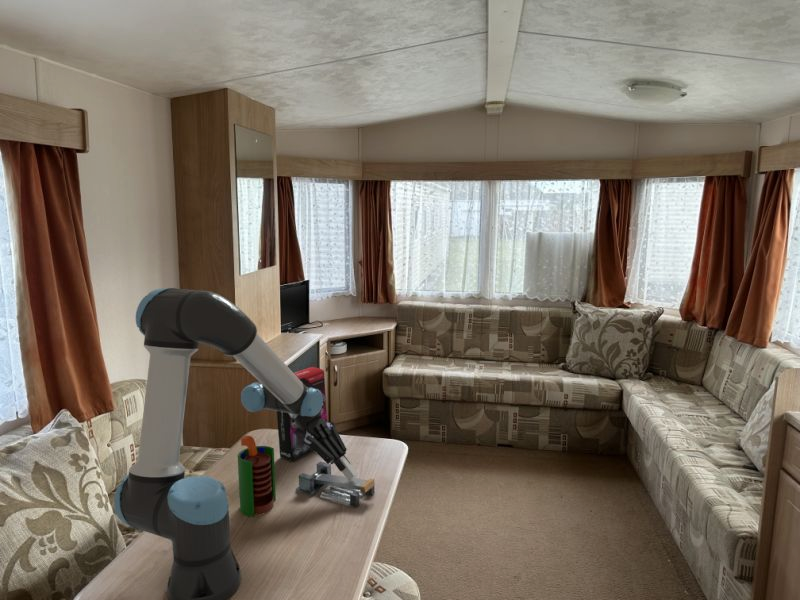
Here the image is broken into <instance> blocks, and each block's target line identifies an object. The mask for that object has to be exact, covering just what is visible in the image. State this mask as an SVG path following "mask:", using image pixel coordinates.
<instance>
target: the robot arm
mask: <svg viewBox="0 0 800 600" xmlns="http://www.w3.org/2000/svg"><path fill="white" fill-rule="evenodd" d="M135 324H136V327H137V328H138V331H139V332H140V333H141V334H143V336H144V340H143V347H144V348H145V350H147V352H148V353H149V360H148V367H147V368H148V371H147V380H146V385H145V386H146V387H145V396H144V405H143V413H142V422H141V430H140V439H139V446H138V456H137V460H136V462H135V463H134V464H133V465H132V466H130V467H129V471H128V474H127V475H126V476H124V477H123V478H122V480H121V484H118V486H117V488H116V490H115V493H114V498H113V507H114V512H115V514H116V516H117V518H118V520H120V521H121V522H122V523H124V524H125V525H128V526H129V527H130V528H132V529H135V530H137V531H143V532H146V533H149V534H153V535H154V536H158V537H161V538H163V539H167V540H169V541H170V542H171V544H172V553H173V554H172V555H173V562H172V566H171V572H170V576H169V578H168V581H167V586H166V589H167V597H168V600H228V599H229V598H231V597H232V596H233V595H234V594H235V593H236V592H237V591H238V589H239V587H240V586H241V581H242V574H241V573H242V572H241V567H240V564H239V562H238V560H237V558H236V556H235V554H234V552H233V549H232V547H231V534H230V529H231V528H230V515H229V512H230V510H229V499H228V495H227V490H226V487H225V486H224V484H223V483H222V482H221V481H220V480H218V479H216V478H214V477H211V476H206V475H199V476H198V477H197V476H195V475H193V476H187V477H185V474H186V467H185V466H184V465H183V464H182V463H181V462H180V454H181V453H180V452H181V445H182V436H183V429H184V418H185V411H186V399H187V394H188V392H187V391H188V383H189V373H190V366H191V357H192V356H193V355H194V354H195V353H196V352H198V351H199V347H200V344H204V345H207V346H209V347H210V346H211V347H213V348H216V349H217V350H219V352H220V353H222V354H223V355H224V356H227V357H233V359H235V360H236V361H237V362H238V363H239V364H240V365H241V366H242V367H243V368H245V369H246V370H247V372H249V373H250V374H251V375H252V376H253V377H254V378H255V379H256V380H257V381H255V382H252V383H251V384H249V385H247V386H245V387H244V388H243V389H242V391H241V393H240V401H241V404H242V406H243V407H244V409H245V410H246V411H248V412H252V413H256V412H260V411H263V410H268V411H269V410H270V411H274V412H277V411H280V412H286V413H289V415H290V416H291V418H293V419H294V418H295V419H294V420H295V423H296V424H297V426H298V427H299V428H300V429H301V430H304V433H305V435H306V437H305V439H304V440H303V443H304V444H306V445H308V446H309V447H311V448H312V449H313V450H314V451H313V452H314V453H316V454H317V455H318V457H320V458H321V459H322V460H323V461H324V463H327V464H331V465H335V466H336V468H337V469H338V470H339V471H340V472H342V474H343V476H344V477H346V478H347V479H348V481H350V480H351V479H352V478H356V476H357V475H358V473H357V472H356V470H355V469H354V467H353V466H352V464H351V462H350V460H348V458H347V457H346V454H347V450H348V449H347V447H346V445H345V443H344V442H343V439H342V437H341V435H340V434H339V431H338V430H337V428H336V423H335V421H331V422H328V421H327V422H326V421H325V420H324V419H323V418H322V417H321V412H320V409H321V407H322V403H323V397H322V393H321V392H320V391H319V390H318V389H314V388H312V387H311V388H308V387H306V386H305V385H304V384H303V383H302V382H301V381H300V380H299V379H298V377H297V376H296V375H295V374H294V372H293V371H292V370H291V369H290V368H289V367H288V366H287V364H286V363H285V362H284V361H283V360H282V359H281V358H280V357H279V356H278V354H277V353H276V352H275V351H274V350H273V349H272V348H271V347H270V346H269V344H268V343H267V342H265V340H264V339H263V338H262V337H261V336H260V335H259V333H258V327H257V325H256V324H255V323H254V322H253V320H251V318H250V317H249V316H248V315H247V314H246V313H245V312H243V310H242V309H240V308H239V307H238V306H237V305H236V304H234V303H233V302H231V301H230V300H229V299H227V298H225V297H224V296H222V295H220V294H219V293H217V292H216V293H215V292H213V291H210V290H204V289H203V290H202V289H201V290H197V289H196V290H195V289H185V288H175V287H167V288H158V289H157V288H156V289H154V290H152V291H149V292H148V294H146V295H145V296H144V297H143V298H142V299H141V300H140V301H139V303H138V306H137V307H136V312H135Z"/></svg>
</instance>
